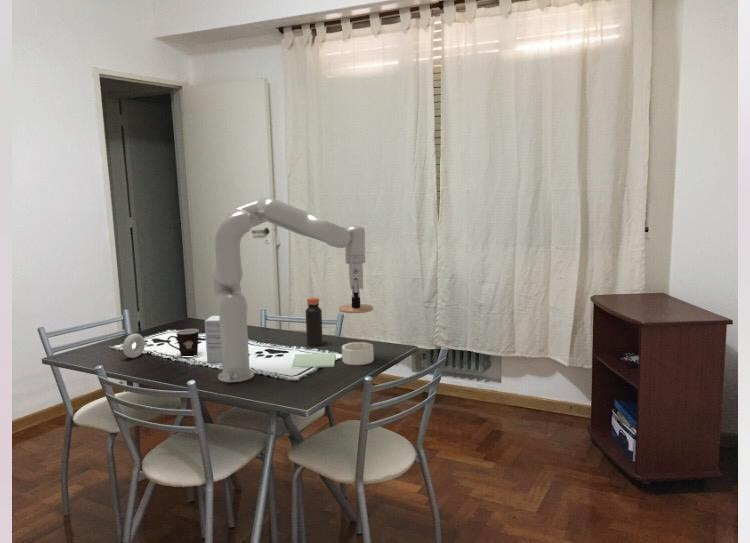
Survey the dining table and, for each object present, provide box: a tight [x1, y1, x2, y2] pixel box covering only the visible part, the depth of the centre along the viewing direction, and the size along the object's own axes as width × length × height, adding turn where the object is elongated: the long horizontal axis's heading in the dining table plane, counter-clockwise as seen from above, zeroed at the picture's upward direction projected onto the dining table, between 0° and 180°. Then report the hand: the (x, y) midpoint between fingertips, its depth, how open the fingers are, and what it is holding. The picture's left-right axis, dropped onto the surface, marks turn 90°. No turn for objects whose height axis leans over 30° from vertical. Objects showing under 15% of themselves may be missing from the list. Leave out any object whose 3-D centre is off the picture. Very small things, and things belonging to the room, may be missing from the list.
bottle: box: [305, 297, 324, 347], centre depth 249 cm, size 7×7×20 cm
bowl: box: [341, 341, 375, 366], centre depth 226 cm, size 12×12×6 cm
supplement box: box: [204, 315, 222, 363], centre depth 230 cm, size 10×9×17 cm
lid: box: [338, 303, 374, 314], centre depth 223 cm, size 13×13×6 cm
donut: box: [122, 333, 146, 359], centre depth 235 cm, size 10×4×10 cm, turn 154°
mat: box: [291, 352, 336, 368], centre depth 226 cm, size 16×16×1 cm
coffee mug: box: [166, 328, 200, 357], centre depth 237 cm, size 12×9×10 cm
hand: (356, 306), depth 223 cm, fingers closed on lid, 3 cm apart
